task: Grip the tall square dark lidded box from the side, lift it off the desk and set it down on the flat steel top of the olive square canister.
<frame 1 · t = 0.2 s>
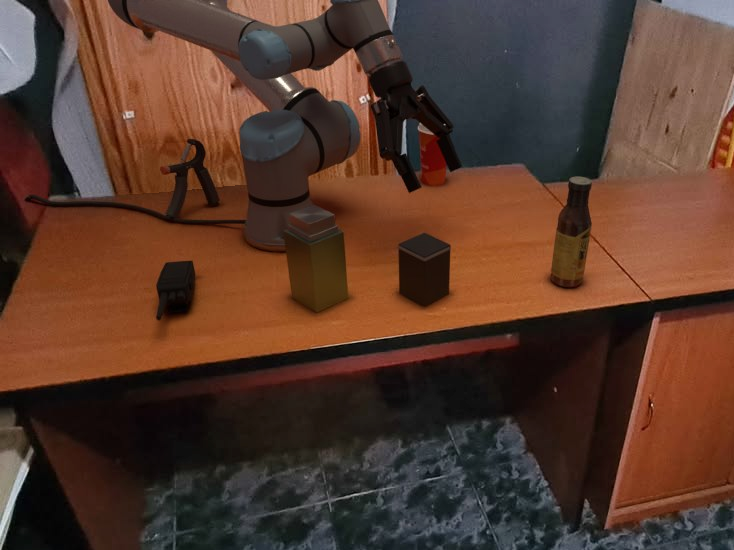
hand: (436, 179, 129), 15 cm above the table, tool tilted 35°, fingers open, 13 cm apart
dark lidded box: (424, 293, 125), on the table
sauce bottle: (566, 281, 131), on the table
olive square canister: (320, 297, 122), on the table
hand grip strengthener: (194, 213, 146), on the table
walkie-talkie: (180, 307, 117), on the table
paper cup: (433, 182, 166), on the table
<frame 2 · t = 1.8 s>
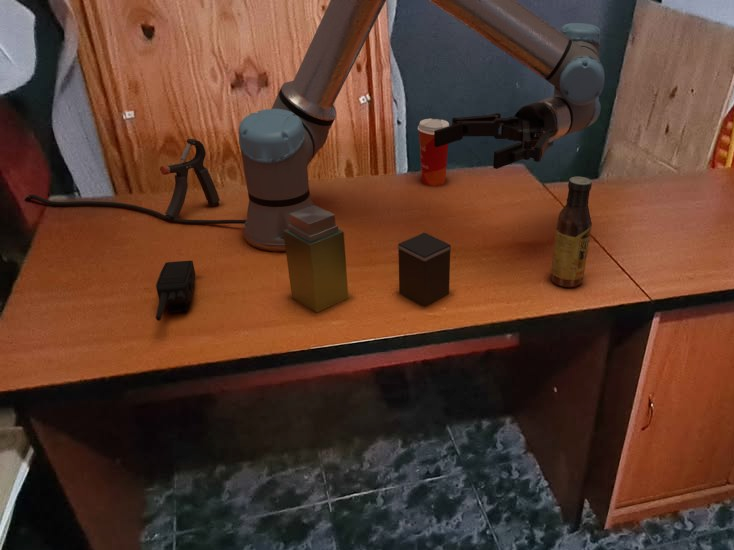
hand: (464, 149, 116), 24 cm above the table, tool horizontal, fingers open, 13 cm apart
nothing on the table moved.
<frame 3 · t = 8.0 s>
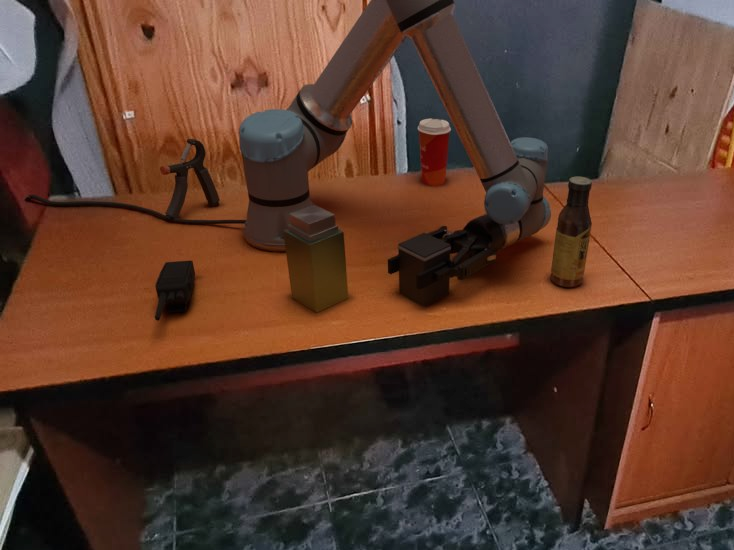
hand: (403, 274, 118), 6 cm above the table, tool horizontal, fingers closed on dark lidded box, 6 cm apart
dark lidded box: (424, 293, 125), on the table, touching gripper
everything else where it was.
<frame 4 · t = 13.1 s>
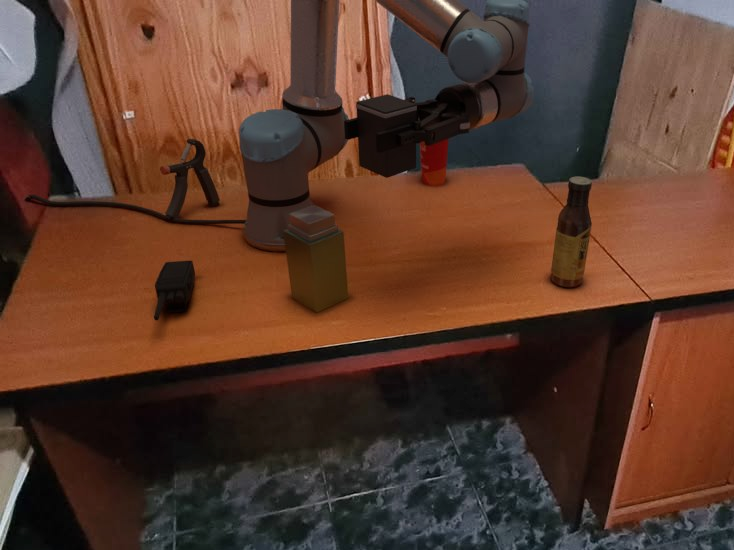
hand: (362, 136, 103), 30 cm above the table, tool horizontal, fingers closed on dark lidded box, 6 cm apart
dark lidded box: (387, 167, 109), point 24 cm above the table, touching gripper
everything else where it was.
when the fingers open (22 cm above the table, at t = 18.0 s): dark lidded box stays where it is, resting on olive square canister.
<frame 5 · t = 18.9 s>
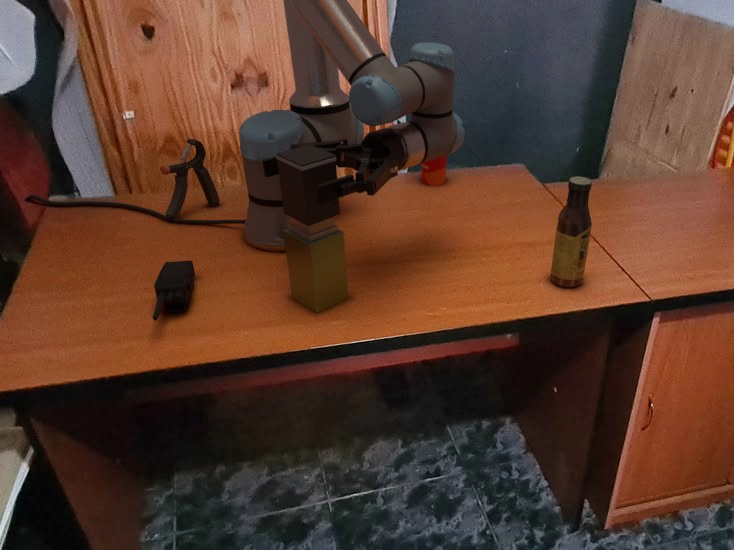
hand: (290, 181, 106), 22 cm above the table, tool horizontal, fingers open, 13 cm apart
dark lidded box: (311, 214, 112), point 16 cm above the table, touching olive square canister
everything else where it was.
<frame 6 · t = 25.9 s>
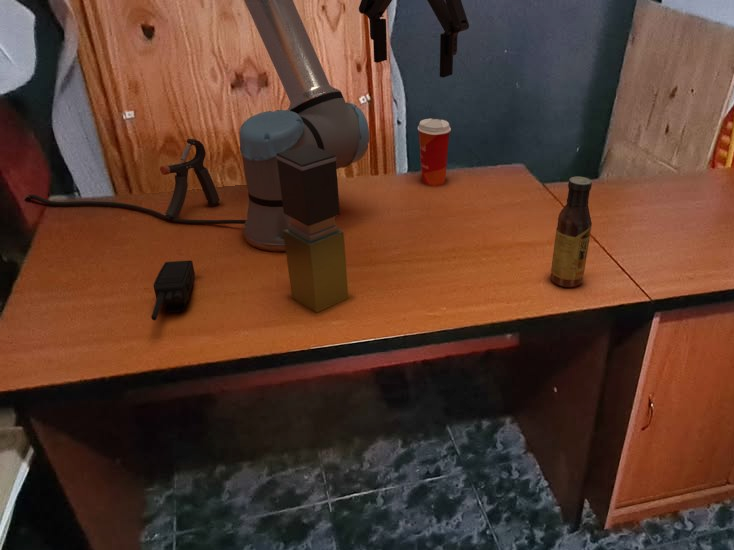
hand: (412, 68, 117), 35 cm above the table, tool pointing down, fingers open, 13 cm apart
nothing on the table moved.
at the end: dark lidded box 0.0 cm off-centre on the olive square canister, point 16.0 cm above the olive square canister's base; dark lidded box tilted 0°; the gripper is holding nothing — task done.
